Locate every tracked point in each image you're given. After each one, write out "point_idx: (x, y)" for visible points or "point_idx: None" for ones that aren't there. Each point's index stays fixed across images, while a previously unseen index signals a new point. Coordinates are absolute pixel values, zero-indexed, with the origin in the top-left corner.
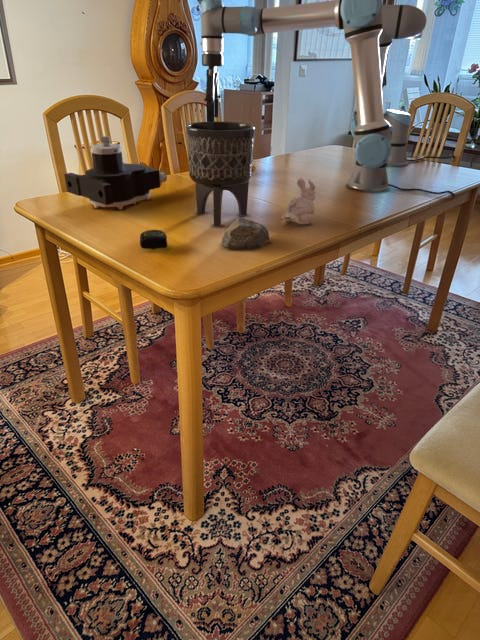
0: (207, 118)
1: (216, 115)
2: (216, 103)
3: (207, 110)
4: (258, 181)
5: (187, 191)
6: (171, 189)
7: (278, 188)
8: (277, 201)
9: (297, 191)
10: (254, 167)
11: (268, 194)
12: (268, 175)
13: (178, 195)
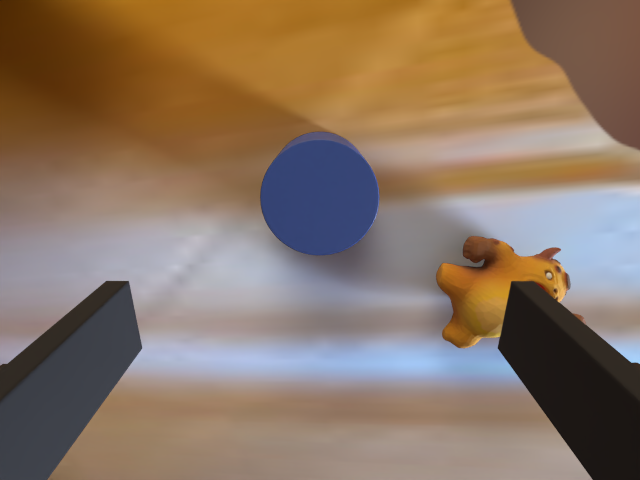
0: (90, 302)
1: (508, 342)
2: (595, 452)
3: (29, 357)
4: (357, 341)
5: (142, 90)
6: (154, 4)
7: (269, 398)
8: (113, 395)
9: (244, 443)
10: (455, 345)
11: (186, 373)
12: (456, 370)
13: (67, 61)
